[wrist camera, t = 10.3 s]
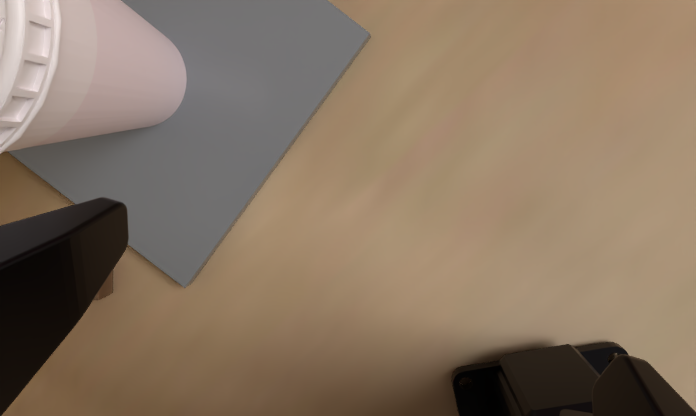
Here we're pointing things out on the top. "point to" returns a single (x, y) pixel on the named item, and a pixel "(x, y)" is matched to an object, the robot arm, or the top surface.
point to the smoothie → (82, 71)
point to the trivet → (210, 122)
